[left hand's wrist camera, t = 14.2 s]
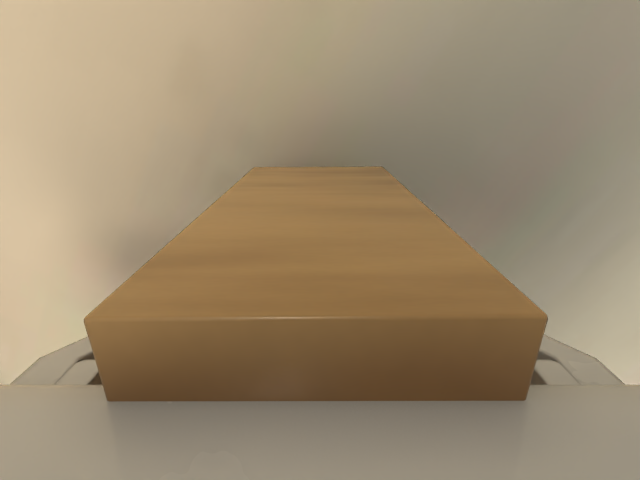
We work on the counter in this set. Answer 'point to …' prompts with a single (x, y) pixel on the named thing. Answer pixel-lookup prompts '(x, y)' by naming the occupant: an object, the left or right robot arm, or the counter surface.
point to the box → (316, 302)
